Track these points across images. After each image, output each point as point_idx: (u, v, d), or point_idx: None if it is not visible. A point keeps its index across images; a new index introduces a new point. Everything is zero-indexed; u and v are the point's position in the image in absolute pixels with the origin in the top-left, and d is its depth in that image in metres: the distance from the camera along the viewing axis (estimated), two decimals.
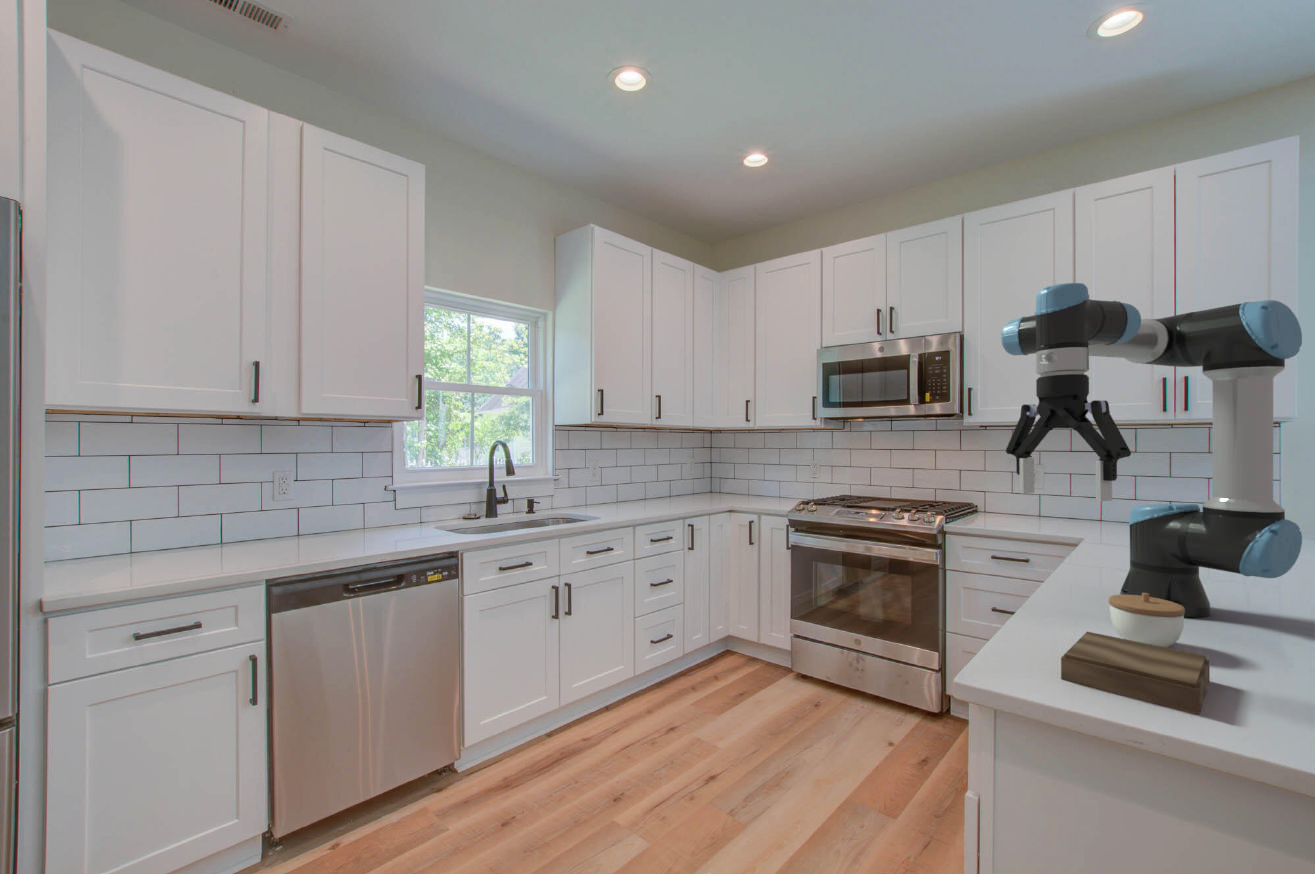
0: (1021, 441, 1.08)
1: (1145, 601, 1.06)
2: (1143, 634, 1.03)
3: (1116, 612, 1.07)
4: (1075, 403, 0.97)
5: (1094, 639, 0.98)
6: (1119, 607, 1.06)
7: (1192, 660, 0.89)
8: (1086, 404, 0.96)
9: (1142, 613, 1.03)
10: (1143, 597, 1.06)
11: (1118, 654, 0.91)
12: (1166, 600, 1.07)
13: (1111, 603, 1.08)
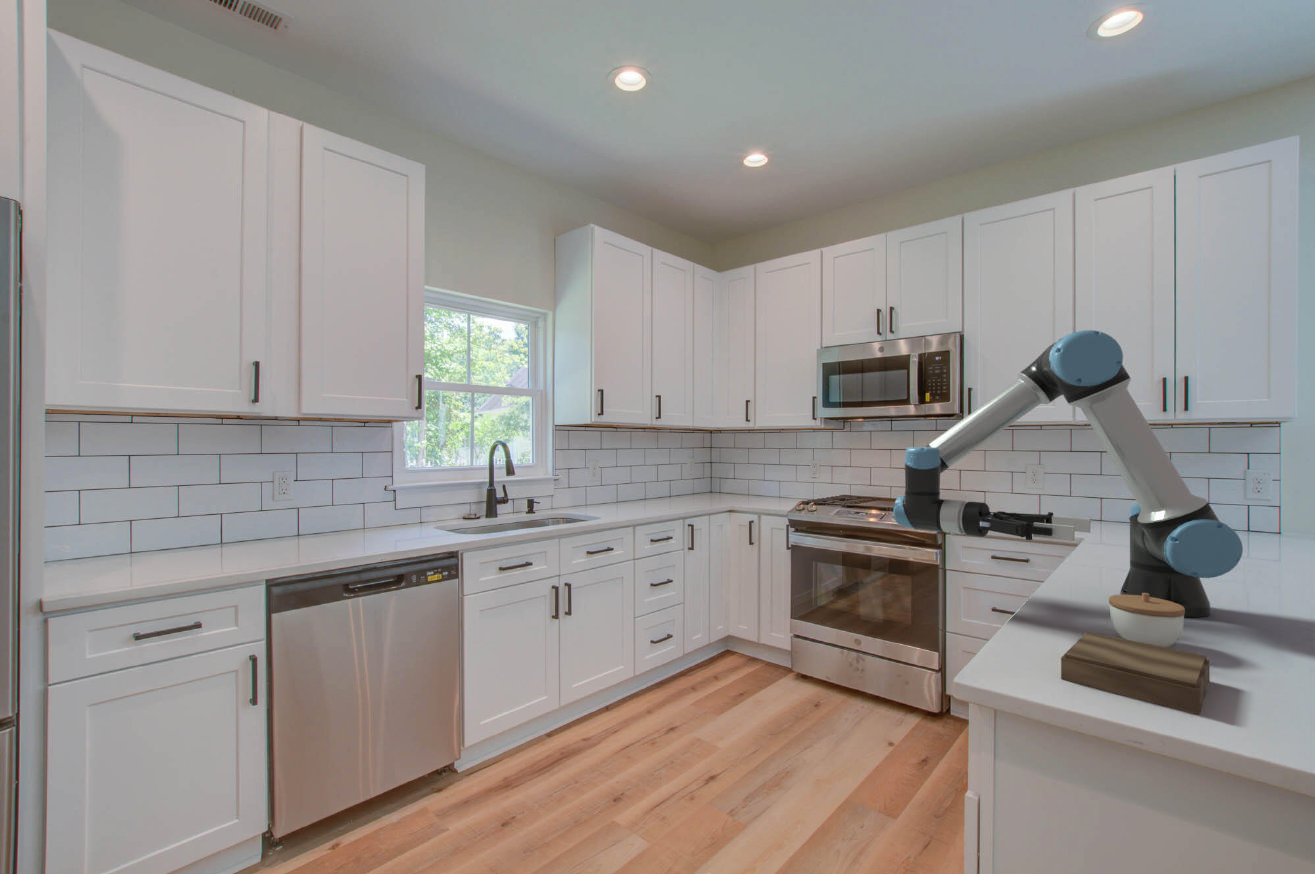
0: None
1: (1145, 601, 1.06)
2: (1143, 634, 1.03)
3: (1116, 612, 1.07)
4: None
5: (1094, 639, 0.98)
6: (1119, 607, 1.06)
7: (1192, 660, 0.89)
8: None
9: (1142, 613, 1.03)
10: (1143, 597, 1.06)
11: (1118, 654, 0.91)
12: (1166, 600, 1.07)
13: (1111, 603, 1.08)
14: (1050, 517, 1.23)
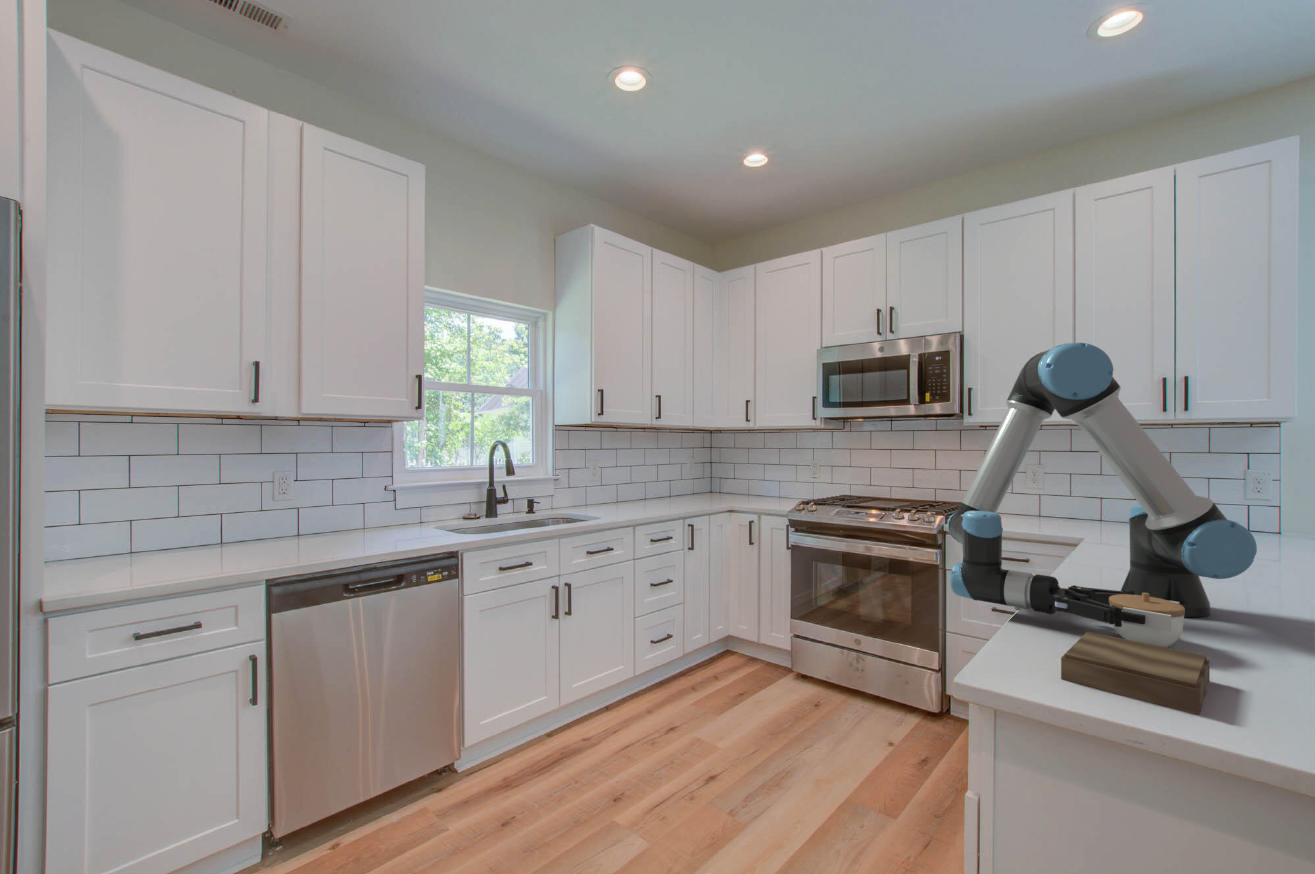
0: None
1: (1145, 601, 1.06)
2: (1143, 633, 1.03)
3: None
4: None
5: (1094, 639, 0.98)
6: (1119, 607, 1.06)
7: (1192, 660, 0.89)
8: None
9: None
10: (1143, 597, 1.06)
11: (1118, 654, 0.91)
12: (1166, 600, 1.07)
13: (1111, 603, 1.08)
14: None
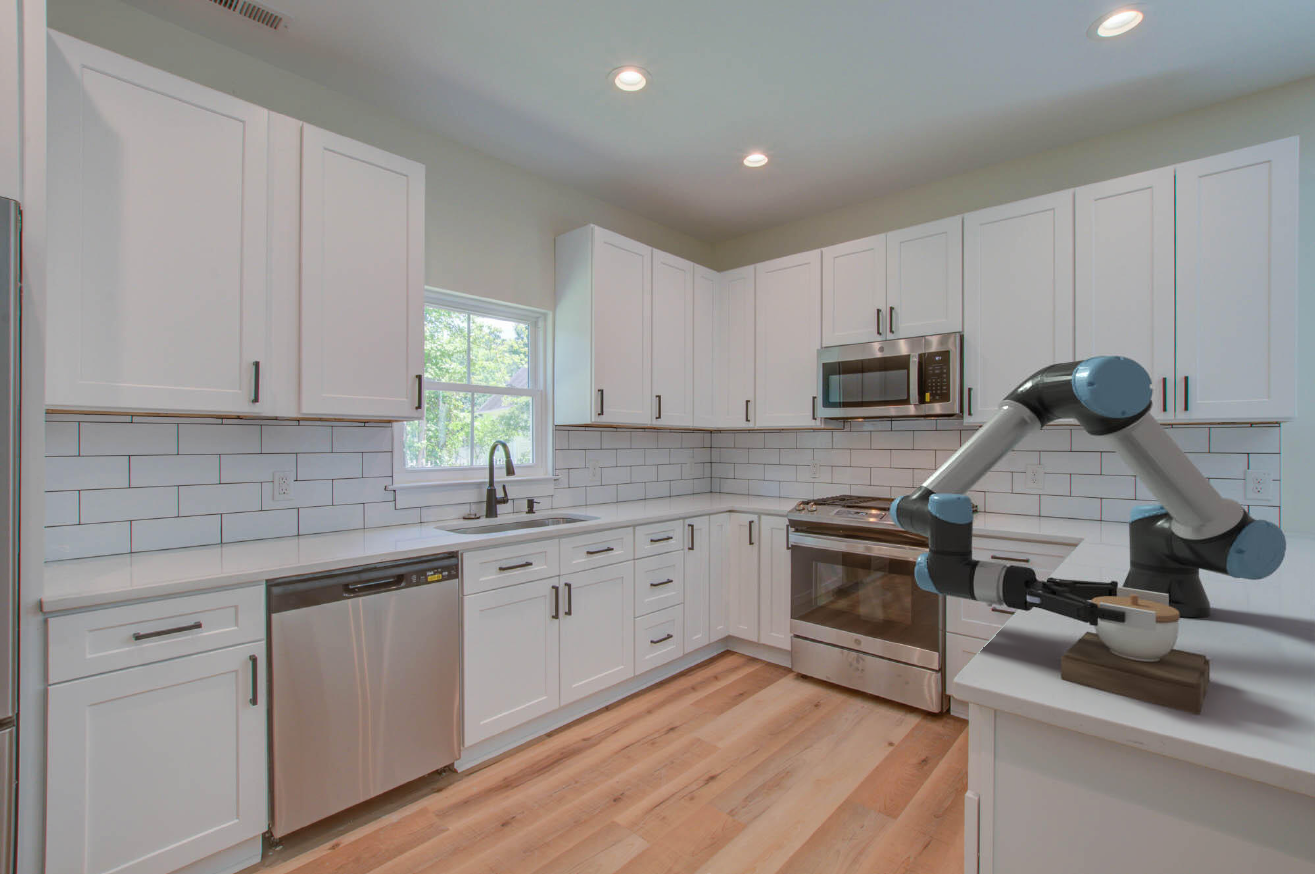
0: None
1: (1133, 604, 0.91)
2: (1131, 642, 0.87)
3: None
4: None
5: (1094, 639, 0.98)
6: None
7: (1192, 660, 0.89)
8: None
9: None
10: (1131, 599, 0.91)
11: None
12: (1158, 603, 0.92)
13: None
14: (1114, 588, 0.99)
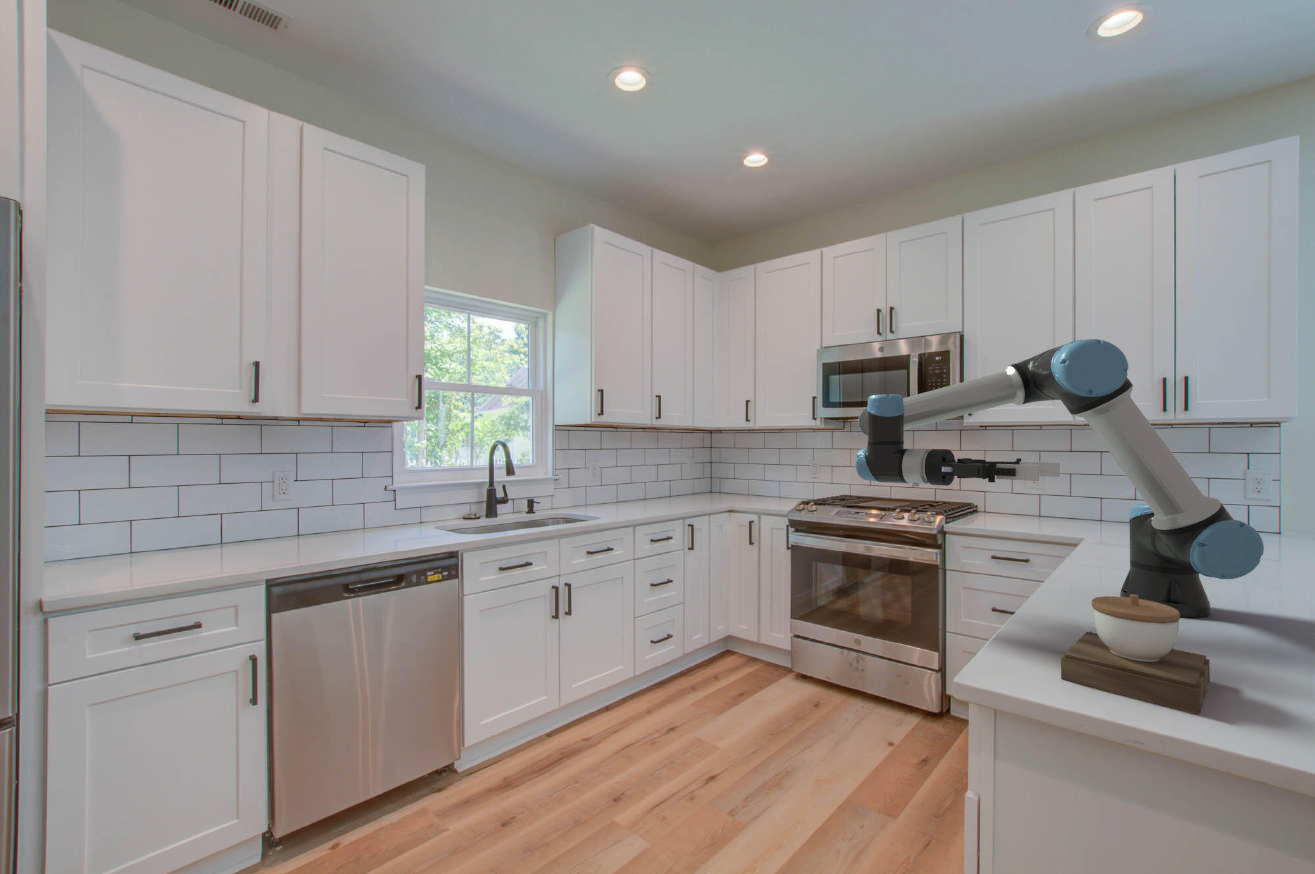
0: None
1: (1134, 604, 0.91)
2: (1131, 643, 0.87)
3: (1100, 616, 0.91)
4: None
5: (1094, 639, 0.98)
6: (1103, 611, 0.90)
7: (1192, 660, 0.89)
8: None
9: (1129, 619, 0.87)
10: (1131, 599, 0.91)
11: None
12: (1158, 603, 0.92)
13: (1094, 606, 0.92)
14: (1018, 463, 1.16)
